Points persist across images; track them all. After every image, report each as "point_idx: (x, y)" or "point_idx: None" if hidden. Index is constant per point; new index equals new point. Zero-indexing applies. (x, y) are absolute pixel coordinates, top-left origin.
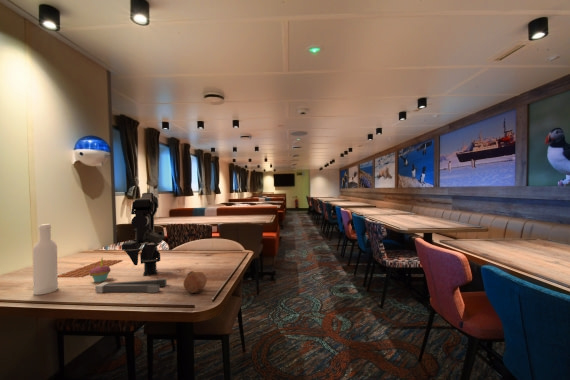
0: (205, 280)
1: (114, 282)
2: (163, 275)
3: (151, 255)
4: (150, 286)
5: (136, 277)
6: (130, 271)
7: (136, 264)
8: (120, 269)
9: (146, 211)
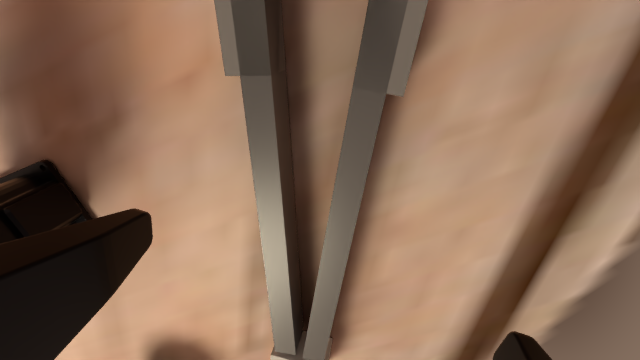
0: None
1: (275, 334)
2: (61, 102)
3: (71, 253)
4: (410, 66)
5: None
6: None
7: (540, 351)
8: None
9: None
